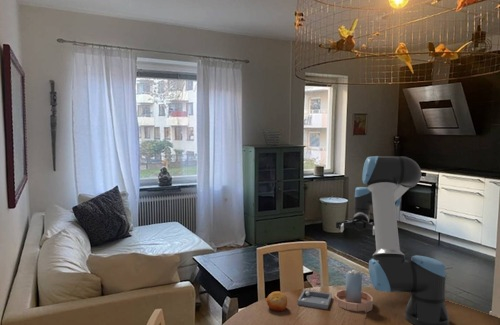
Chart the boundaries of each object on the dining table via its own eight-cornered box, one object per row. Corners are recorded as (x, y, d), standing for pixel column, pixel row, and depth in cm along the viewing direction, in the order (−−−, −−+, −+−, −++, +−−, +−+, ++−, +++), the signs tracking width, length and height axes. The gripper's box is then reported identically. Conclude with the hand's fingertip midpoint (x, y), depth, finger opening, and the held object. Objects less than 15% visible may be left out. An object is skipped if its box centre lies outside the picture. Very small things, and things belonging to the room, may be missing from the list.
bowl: (373, 300, 161) (373, 292, 161) (371, 315, 147) (372, 306, 147) (336, 295, 166) (337, 287, 166) (332, 309, 152) (332, 300, 152)
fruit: (287, 300, 156) (287, 288, 152) (286, 318, 150) (287, 305, 145) (267, 299, 157) (267, 287, 153) (266, 316, 151) (265, 304, 146)
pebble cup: (361, 300, 159) (362, 269, 158) (361, 306, 153) (361, 274, 152) (346, 298, 161) (346, 267, 160) (344, 304, 155) (345, 272, 154)
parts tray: (331, 299, 162) (331, 293, 161) (327, 311, 150) (327, 304, 150) (303, 295, 166) (303, 289, 165) (297, 306, 154) (297, 299, 154)
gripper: (387, 231, 183) (387, 241, 163) (334, 226, 192) (328, 236, 172) (387, 215, 183) (387, 224, 163) (334, 211, 191) (328, 219, 171)
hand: (357, 230), depth 167 cm, fingers open, 13 cm apart
